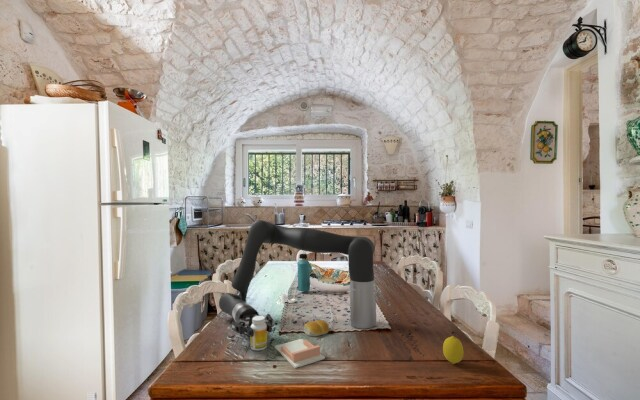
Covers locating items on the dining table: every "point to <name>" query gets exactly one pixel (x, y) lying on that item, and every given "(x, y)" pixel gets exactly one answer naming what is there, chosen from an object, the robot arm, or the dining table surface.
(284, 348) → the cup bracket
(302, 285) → the beverage bottle
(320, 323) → the bread roll
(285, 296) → the teacup and saucer
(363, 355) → the dining table surface
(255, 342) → the supplement bottle
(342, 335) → the dining table surface
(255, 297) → the dining table surface
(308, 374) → the dining table surface
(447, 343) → the lemon
